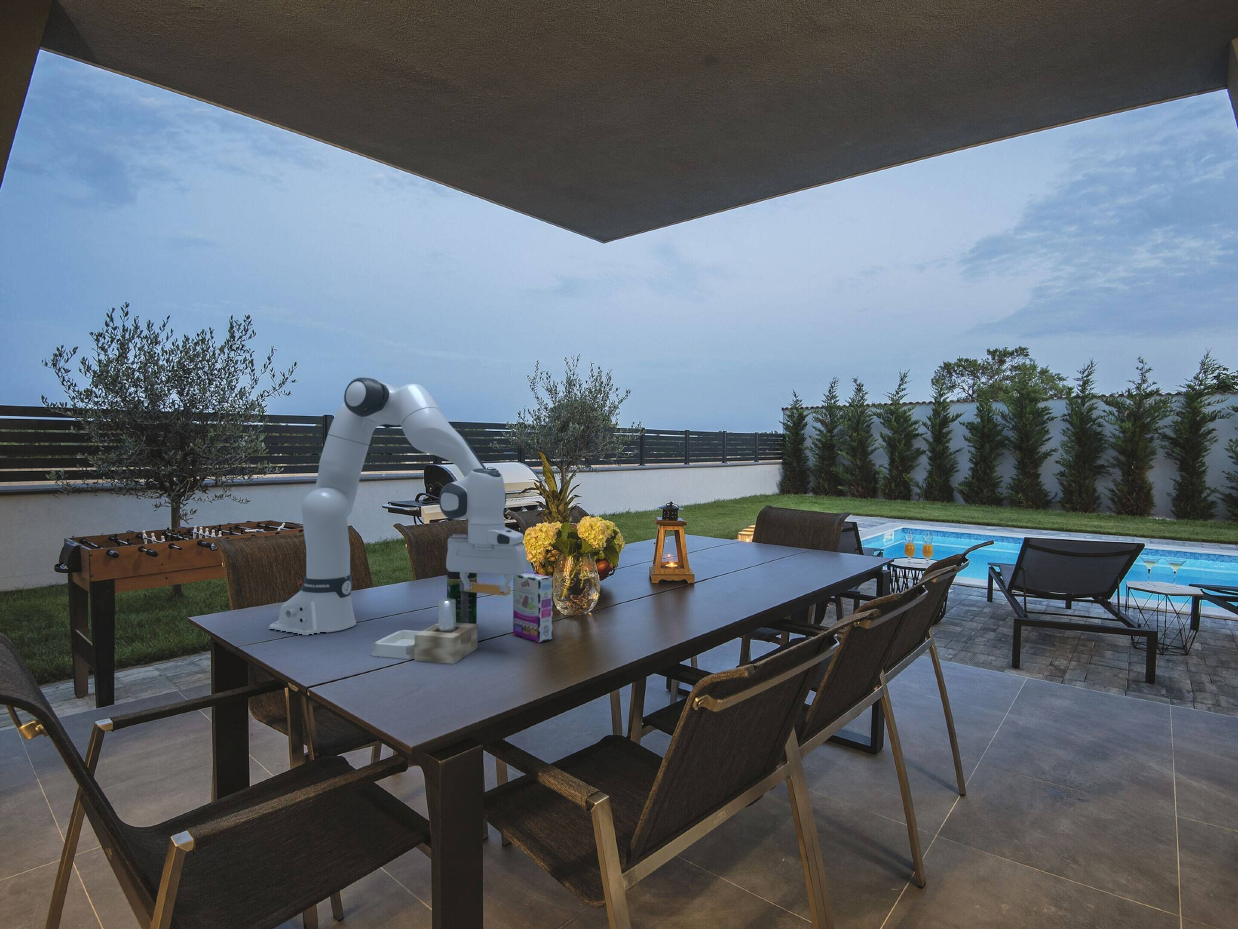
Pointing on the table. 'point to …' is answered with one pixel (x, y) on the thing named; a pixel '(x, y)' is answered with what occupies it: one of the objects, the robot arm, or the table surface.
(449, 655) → the block
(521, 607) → the candy bar box
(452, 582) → the coffee jar
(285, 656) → the table surface
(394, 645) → the tray
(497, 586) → the bar
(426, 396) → the robot arm
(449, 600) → the steel pin
